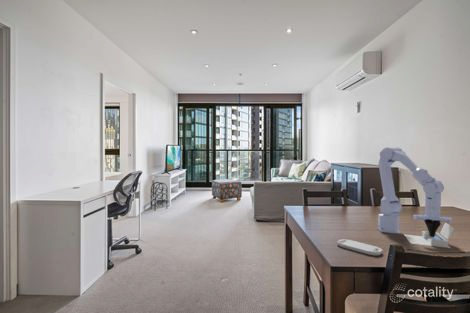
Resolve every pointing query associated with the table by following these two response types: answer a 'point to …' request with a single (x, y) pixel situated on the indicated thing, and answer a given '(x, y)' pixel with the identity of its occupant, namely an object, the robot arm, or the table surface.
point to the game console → (360, 247)
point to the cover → (446, 231)
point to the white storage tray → (428, 240)
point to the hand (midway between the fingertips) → (431, 236)
